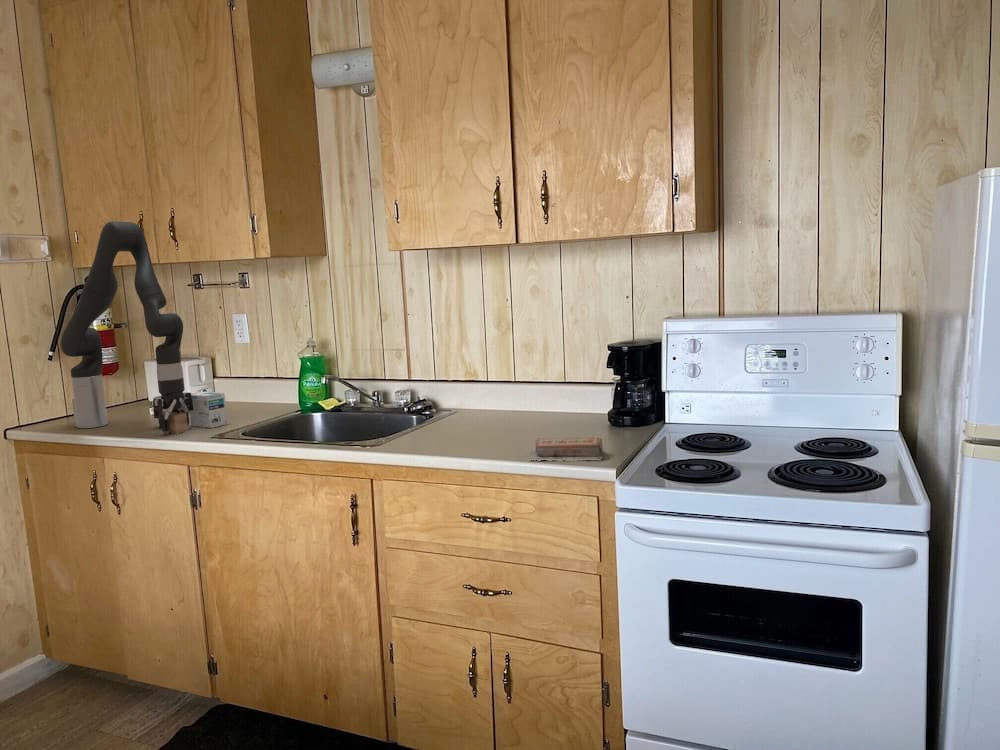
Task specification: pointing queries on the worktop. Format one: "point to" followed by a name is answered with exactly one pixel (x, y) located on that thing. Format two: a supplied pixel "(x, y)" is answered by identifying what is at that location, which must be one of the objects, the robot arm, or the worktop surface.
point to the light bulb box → (208, 409)
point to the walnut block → (177, 423)
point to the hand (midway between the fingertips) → (175, 428)
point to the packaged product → (567, 448)
